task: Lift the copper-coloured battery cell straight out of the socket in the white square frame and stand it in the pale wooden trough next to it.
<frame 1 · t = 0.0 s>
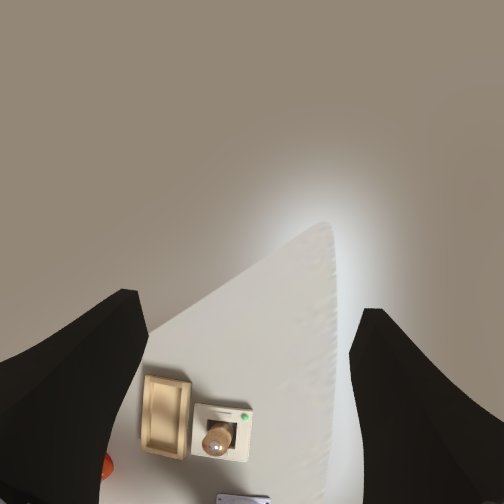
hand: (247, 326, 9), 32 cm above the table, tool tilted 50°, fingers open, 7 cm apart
white square frame: (222, 431, 35), on the table
battery cell: (218, 438, 31), in the white square frame
wooden trough: (167, 416, 35), on the table
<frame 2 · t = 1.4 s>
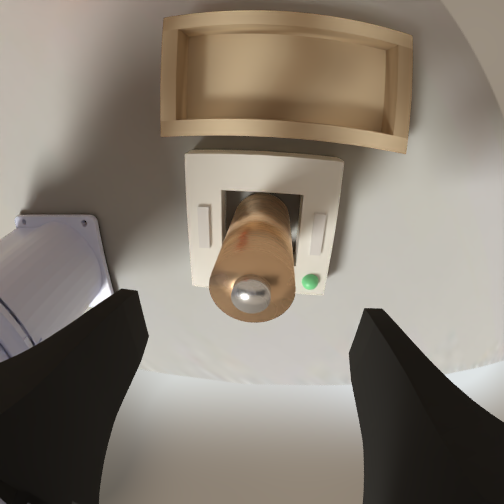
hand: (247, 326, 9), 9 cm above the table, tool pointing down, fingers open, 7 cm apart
white square frame: (261, 219, 17), on the table
battery cell: (257, 249, 13), in the white square frame
wooden trough: (287, 77, 13), on the table
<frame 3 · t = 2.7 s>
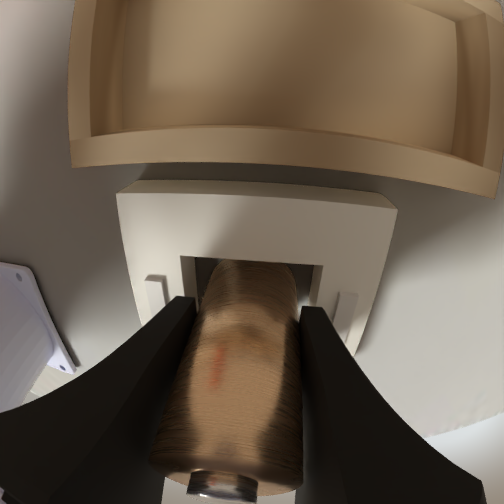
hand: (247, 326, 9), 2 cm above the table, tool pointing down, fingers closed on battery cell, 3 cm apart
white square frame: (252, 289, 11), on the table
battery cell: (241, 369, 7), in the white square frame, touching gripper
wooden trough: (296, 50, 7), on the table
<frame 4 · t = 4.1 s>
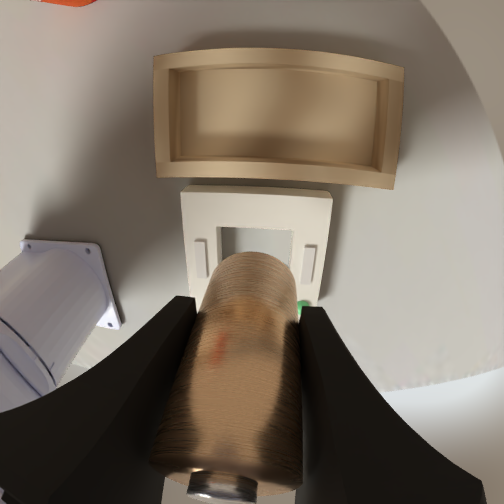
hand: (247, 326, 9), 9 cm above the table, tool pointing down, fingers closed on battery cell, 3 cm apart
white square frame: (255, 250, 18), on the table
battery cell: (241, 369, 7), point 11 cm above the table, touching gripper
wooden trough: (278, 112, 14), on the table
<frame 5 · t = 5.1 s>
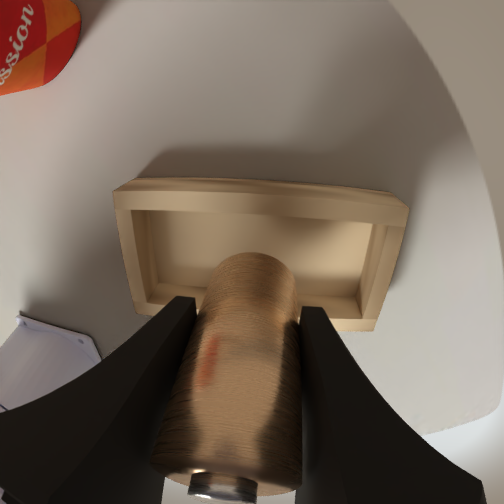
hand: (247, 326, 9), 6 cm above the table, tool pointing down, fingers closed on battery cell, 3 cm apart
paper cup: (48, 42, 9), on the table
battery cell: (241, 370, 7), point 7 cm above the table, touching gripper
wooden trough: (258, 245, 14), on the table
when the fingers open (4 cm above the table, at t = 5.8 s): battery cell drops 1 cm, resting on wooden trough.
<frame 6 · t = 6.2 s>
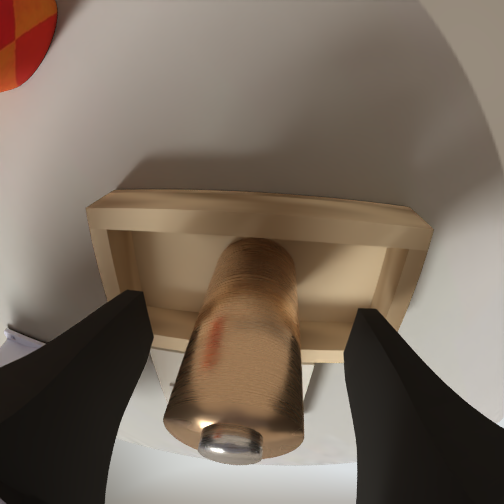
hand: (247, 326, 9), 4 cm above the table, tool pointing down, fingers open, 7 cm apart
paper cup: (24, 39, 7), on the table
white square frame: (233, 382, 16), on the table
battery cell: (246, 340, 8), in the wooden trough
wooden trough: (256, 267, 12), on the table
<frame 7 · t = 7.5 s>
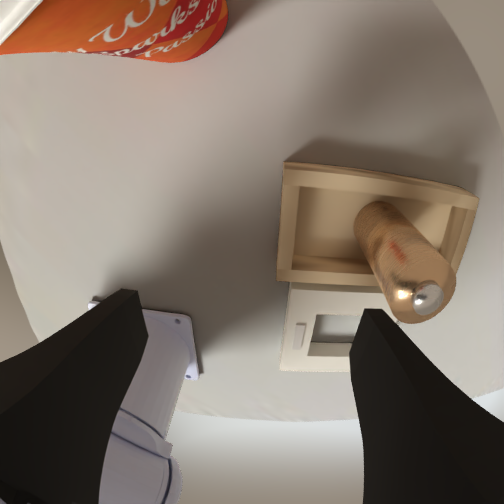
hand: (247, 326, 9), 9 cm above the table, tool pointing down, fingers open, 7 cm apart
paper cup: (182, 21, 12), on the table
white square frame: (337, 323, 20), on the table
battery cell: (399, 255, 13), in the wooden trough
wooden trough: (375, 222, 17), on the table
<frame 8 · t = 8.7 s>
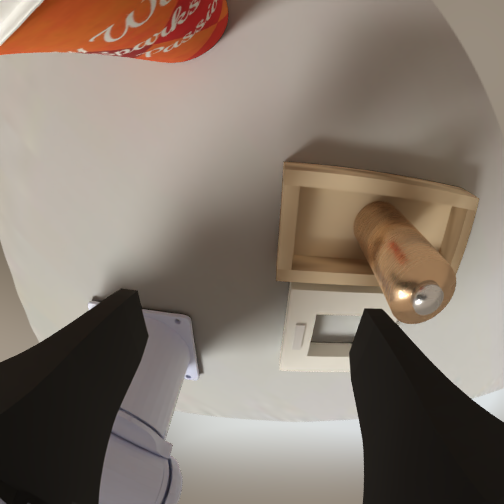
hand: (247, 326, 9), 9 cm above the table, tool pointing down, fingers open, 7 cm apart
paper cup: (182, 21, 12), on the table
white square frame: (337, 323, 20), on the table
battery cell: (399, 255, 13), in the wooden trough
wooden trough: (375, 222, 17), on the table
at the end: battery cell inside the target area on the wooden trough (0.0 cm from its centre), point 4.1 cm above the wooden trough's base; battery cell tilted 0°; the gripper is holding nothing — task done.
